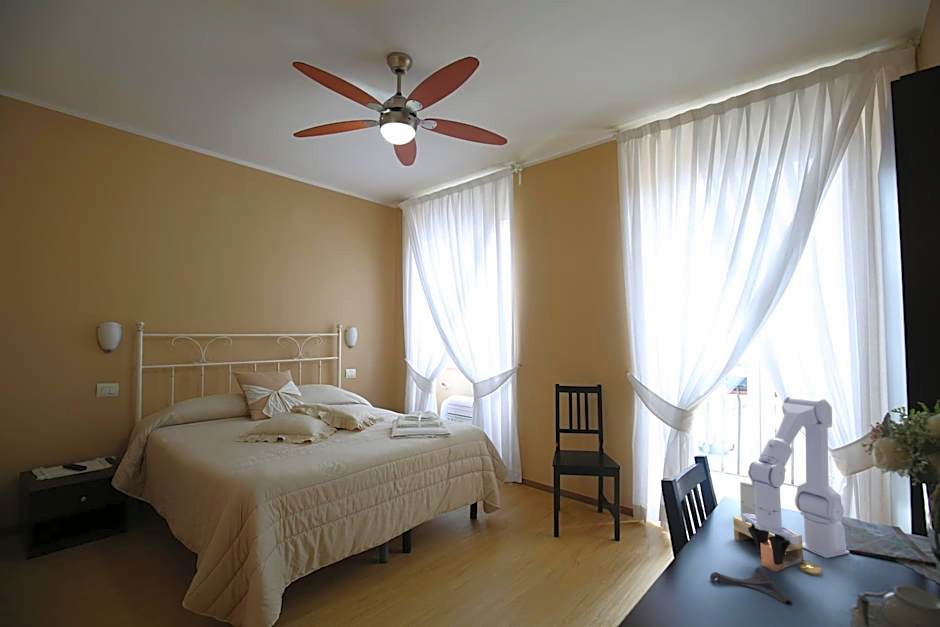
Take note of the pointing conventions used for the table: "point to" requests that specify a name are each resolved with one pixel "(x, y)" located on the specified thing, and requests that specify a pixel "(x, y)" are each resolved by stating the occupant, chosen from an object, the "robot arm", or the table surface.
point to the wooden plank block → (743, 533)
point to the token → (810, 568)
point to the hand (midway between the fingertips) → (770, 559)
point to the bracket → (754, 584)
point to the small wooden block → (769, 562)
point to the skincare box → (747, 497)
